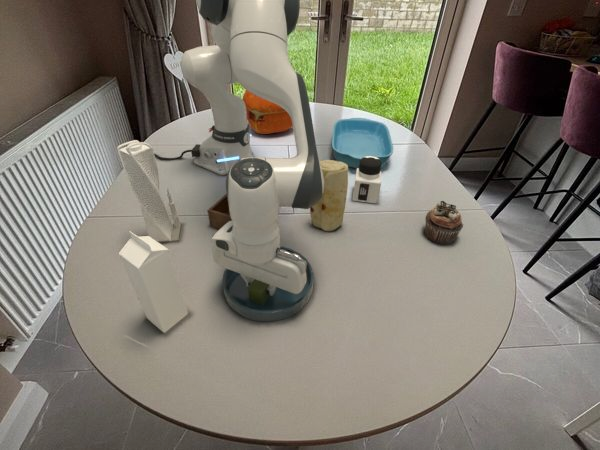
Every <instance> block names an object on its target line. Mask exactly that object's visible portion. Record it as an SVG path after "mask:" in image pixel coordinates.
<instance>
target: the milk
mask: <svg viewBox="0 0 600 450" xmlns="http://www.w3.org/2000/svg"><path fill="white" fill-rule="evenodd" d="M128 233H129V236H130V238H129V239H128V240H127V242H126V243H125V245H124V246H123V247H122V248H121V250H120V251H119V252H118V255H119V257H120V260H121V262H122V265H123V267H124V269H125V272H126V274H127V276H128V279H129V281H130V283H131V286H132V287H133V289H134V292H135V294H136V297H137V299H138V301H139V304H140V306H141V308H142V310H143V312H144V315H145V317H146V319H147V320H148V321H149V322H151V323H152V325H154V326H155V327H157V328H158V329H159V330H160V331H161V332H162V333H163V334H165V333H166V332H167V331H169V330H170V329H171V328H172V327H174V326H175V325H176V324H178V323H180V321H181V320H182V319H184V318H185V317H186V316H187V315H188V314H189V311H188V308H187V305H186V301H185V298H184V295H183V292H182V288H181V285H180V282H179V278H178V274H177V272H176V268H175V266H174V262H173V259H172V256H171V252H170V249H168V247H166V246H164V245H163V244H162V243H158V242H157V241H155V240H154V239H152V238H151V237H149V236H148V235H144V236H143V235H142V236H138V235H136V234H135V233H133V232H132V231H131V230H129V231H128Z"/></svg>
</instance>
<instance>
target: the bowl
mask: <svg viewBox="0 0 600 450" xmlns="http://www.w3.org/2000/svg"><path fill="white" fill-rule="evenodd" d="M280 249H283V250H286V251H288V252H291V253H295V254H298V255H300V258H302V259H303V260H304V261H306V279H307V280H306V284H305V286H304V288H303V290H302V291H301V292H300V293H298V294H294V293H291V292H288V291H286V290H283V289H280V288H277V287H276V288H275V289H276V290H275V293H274V294H273V296H269V297H268V299H267V300H266V302H265V303H264V305H260V304H258V303H255V302H253V301H250V300H249V294H248V287H247V286H246V282H245V280H244V279H243V278H242V277H241V275H240V273H237V272H234V271H231V270H229V269H226V268H224V271H223V275H222V280H221V281H222V289H223V294H224V298H225V300H226V302H227V304H228V305H229V307H230V308H231V309H232V310H233V311H234V312H235V313H237V314H238V315H240V316H241V317H244V318H245V319H248V320H252V321H256V322H265V323H266V322H276V321H280V320H285V319H287V318H290V317H292V316H294V315H295V314H297V313H298V312H300V311H301V310H302V309H303V308H304V307H305V306H306V304H308V302H309V301H310V299H311V296H312V294H313V289H314V278H315V277H314V270H313V268H312V265H311V264H310V262H309V261H308V259H307V258H306V257H305V256H303V255H302V254H301V253H300V252H298V251H296V250H295V249H292V248H289V247H287V246H281V245H280Z"/></svg>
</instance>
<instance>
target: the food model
mask: <svg viewBox="0 0 600 450" xmlns="http://www.w3.org/2000/svg"><path fill="white" fill-rule="evenodd" d="M319 164H320V166H321V169H322V173H323V177H324V191H323V195H322V198H321V199H320V200H319V201H318V202H317V203H316V204H315V205H314V206H312V207H311V208H309V213H310V219H311V222H312V225H313V227H315V228H318V229H322V230H323V231H324V232H333V231H335V230H336V229H338V228H339V227H340V226H341V225H342V224H343V222H344V216H345V215H344V214H345V210H346V205H347V204H346V203H347V197H348V196H347V195H348V187H349V167H348V165H347V164H345V163H343V162H338V161H337V160H333V159H332V160H331V159H325V160H324V159H323V160H319Z"/></svg>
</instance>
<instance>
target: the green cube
mask: <svg viewBox="0 0 600 450" xmlns="http://www.w3.org/2000/svg"><path fill="white" fill-rule="evenodd" d="M268 285H269V284H267V283H264V282H261V281H259V280H256V279H254V280H253V282H252V283H251V284H250V286H249V287H248V294H249V300H250V301H253V302H255V303H258V304H260V305H264V303H265V302H266V300H267V299H268V297H269V296H270V295H268V294H266V288H267V287H268Z"/></svg>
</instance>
